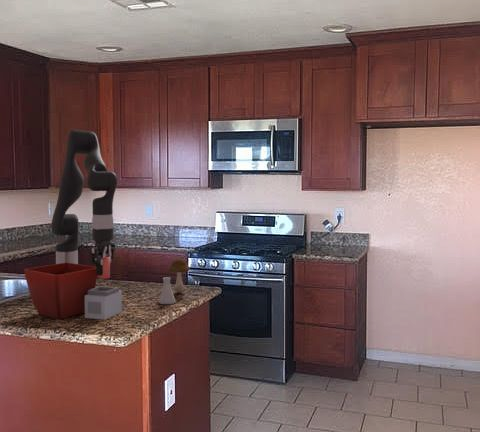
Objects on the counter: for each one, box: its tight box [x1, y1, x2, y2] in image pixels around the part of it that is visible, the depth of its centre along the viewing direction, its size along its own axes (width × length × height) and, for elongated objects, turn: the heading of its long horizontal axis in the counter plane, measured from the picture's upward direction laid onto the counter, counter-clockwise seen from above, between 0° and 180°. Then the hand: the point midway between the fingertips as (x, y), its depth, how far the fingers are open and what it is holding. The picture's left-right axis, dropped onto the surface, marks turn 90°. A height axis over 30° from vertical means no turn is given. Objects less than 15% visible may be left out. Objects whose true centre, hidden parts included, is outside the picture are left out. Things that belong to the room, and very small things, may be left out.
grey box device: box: [84, 285, 123, 320], centre depth 207 cm, size 8×12×10 cm, turn 162°
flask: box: [157, 276, 176, 305], centre depth 227 cm, size 7×7×10 cm
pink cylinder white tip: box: [97, 254, 111, 280], centre depth 207 cm, size 5×5×8 cm
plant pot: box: [23, 263, 98, 320], centre depth 209 cm, size 19×19×17 cm
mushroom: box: [168, 258, 191, 294], centre depth 246 cm, size 9×11×15 cm
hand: (103, 273), depth 207 cm, fingers closed on pink cylinder white tip, 4 cm apart
